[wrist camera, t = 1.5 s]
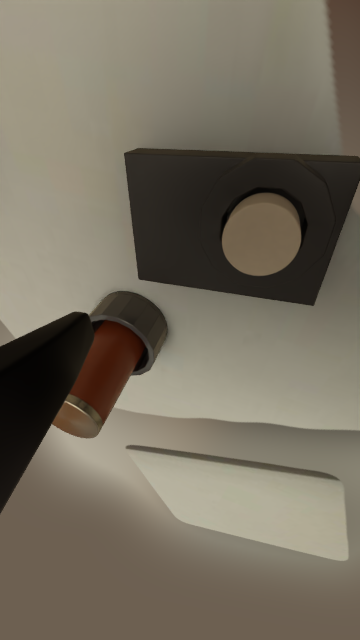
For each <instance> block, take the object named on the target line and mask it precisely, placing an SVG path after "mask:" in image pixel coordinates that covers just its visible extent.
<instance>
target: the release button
mask: <svg viewBox="0 0 360 640" xmlns="http://www.w3.org/2000/svg"><path fill="white" fill-rule="evenodd" d="M300 244H301V228H300V220H299V216H298V213H297V210H296V209H295V207H294V206H293V204H292V203H291V202H290V201H289V200H287V199H286V198H284V197H283V196H280V195H278V194H274V193H258V194H254V195H251V196H249V197H247V198H245V199H244V200H242V201H241V202H240V203H239V204H238V205H237V206H236V207H235V208H234V210H233V211H232V213H231V215H230V217H229V219H228V221H227V223H226V226H225V228H224V231H223V235H222V248H223V251H224V254H225V256H226V258H227V260H228V261H229V262H230V264H231V265H232V266H233V267H235V268H236V269H237V270H239V271H241V272H243V273H245V274H249V275H253V276H265V275H270V274H273V273H276V272H278V271H280V270H282V269H283V268H285V267H286V266H287V265H288V264H290V262H291V261H292V260H293V259H294V258H295V256H296V254H297V252H298V250H299V248H300Z"/></svg>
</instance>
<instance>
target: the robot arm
mask: <svg viewBox="0 0 360 640" xmlns="http://www.w3.org/2000/svg"><path fill="white" fill-rule="evenodd" d="M94 337H95V334H94V330H93V326H92V323H91V319H90V316H89V315H88V314H87V313H83V312H72V313H70V314H68V315H66V316H64V317H62V318H60V319H58V320H55V321H53V322H51V323H49V324H47V325H45V326H43V327H41V328H39V329H36V330H34V331H32V332H30V333H28V334H26V335H24V336H22V337H19V338H17V339H15V340H13V341H11V342H9V343H7V344H5V345H3V346H0V513H1V512H2V510H3V508H4V506H5V505H6V503H7V501H8V499H9V498H10V496H11V494H12V492H13V491H14V489H15V487H16V485H17V484H18V482H19V480H20V478H21V477H22V475H23V473H24V471H25V470H26V468H27V466H28V464H29V463H30V461H31V459H32V457H33V455H34V454H35V452H36V450H37V449H38V447H39V445H40V444H41V442H42V440H43V438H44V437H45V435H46V433H47V431H48V429H49V428H50V426H51V424H52V423H53V421H54V419H55V417H56V416H57V414H58V412H59V410H60V409H61V407H62V405H63V403H64V402H65V400H66V398H67V396H68V395H69V393H70V391H71V389H72V387H73V386H74V384H75V382H76V380H77V378H78V376H79V373H80V371H81V369H82V366H83V364H84V362H85V360H86V357H87V355H88V353H89V350H90V348H91V346H92V344H93V341H94Z"/></svg>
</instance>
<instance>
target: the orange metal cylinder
mask: <svg viewBox="0 0 360 640" xmlns="http://www.w3.org/2000/svg"><path fill="white" fill-rule="evenodd" d="M94 334H95V337H94V341H93V344H92V346H91V348H90V350H89V353H88V355H87V357H86V360H85V362H84V364H83V366H82V369H81V371H80V373H79V376H78V378H77V380H76V382H75V384H74V386H73V387H72V389H71V391H70V393H69V395H68V396H67V398H66V400H65V402H64V403H63V405H62V407H61V409H60V410H59V412H58V414H57V416H56V417H55V419H54V421H53V423H52V424H53V425H54V426H56V427H57V428H60V429H61V430H62V431H64V432H67V433H69V434H71V435H74V436H77V437H81V438H94V437H96V436H97V435H98V434H99V432H100V430H101V428H102V426H103V425H104V423H105V421H106V419H107V417H108V416H109V414H110V412H111V410H112V408H113V407H114V405H115V403H116V401H117V399H118V398H119V396H120V394H121V392H122V390H123V388H124V387H125V385H126V383H127V381H128V379H129V378H130V376H131V374H132V372H133V370H134V369H135V367H136V365H137V363H138V361H139V360H140V358H141V356H142V354H143V352H144V350H145V349H146V346H145V344H144V342H143V340H142V339H141V338H140V337H139V336H138V335H137V334H136V333H135V332H133V331H132V330H131V329H130V328H128V327H126V326H124V325H122V324H120V323H118V322H114V321H109V320H104V321H103V322H102V323H101V325H100V326H99V327H98V328H97V329H96V331H95V332H94Z"/></svg>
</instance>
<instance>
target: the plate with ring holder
mask: <svg viewBox="0 0 360 640" xmlns="http://www.w3.org/2000/svg"><path fill="white" fill-rule="evenodd" d="M124 156H125V165H126V173H127V182H128V191H129V199H130V208H131V217H132V226H133V234H134V243H135V252H136V260H137V269H138V278H139V279H140V280H146V281H153V282H159V283H166V284H173V285H179V286H186V287H192V288H199V289H206V290H212V291H219V292H225V293H232V294H239V295H245V296H252V297H258V298H265V299H272V300H278V301H285V302H291V303H298V304H305V305H311V306H313V305H314V303H315V300H316V298H317V295H318V292H319V290H320V287H321V284H322V281H323V279H324V276H325V273H326V271H327V268H328V265H329V262H330V260H331V257H332V254H333V252H334V249H335V246H336V243H337V241H338V238H339V235H340V233H341V230H342V227H343V224H344V222H345V219H346V216H347V214H348V211H349V208H350V205H351V203H352V200H353V197H354V194H355V192H356V189H357V186H358V183H359V181H360V158H359V157H358V156H338V155H310V154H284V153H255V152H228V151H200V150H173V149H146V148H137V149H134V150H132V151H129V152H126V153H124ZM258 193H274V194H278V195H280V196H283V197H284V198H286V199H287V200H289V201H290V202H291V203H292V204H293V206H294V207H295V209H296V210H297V213H298V216H299V220H300V228H301V244H300V248H299V250H298V252H297V254H296V256H295V258H294V259H293V260H292V261H291V262H290V264H288V265H287V266H286V267H285V268H283V269H282V270H280V271H278V272H276V273H273V274H270V275H265V276H253V275H249V274H245V273H243V272H241V271H239V270H237V269H236V268H235V267H233V266H232V265H231V264H230V262H229V261H228V260H227V258H226V256H225V254H224V251H223V248H222V235H223V231H224V228H225V226H226V223H227V221H228V219H229V217H230V215H231V213H232V211H233V210H234V208H235V207H236V206H237V205H238V204H239V203H240V202H241V201H242V200H244V199H245V198H247V197H249V196H251V195H254V194H258Z"/></svg>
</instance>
